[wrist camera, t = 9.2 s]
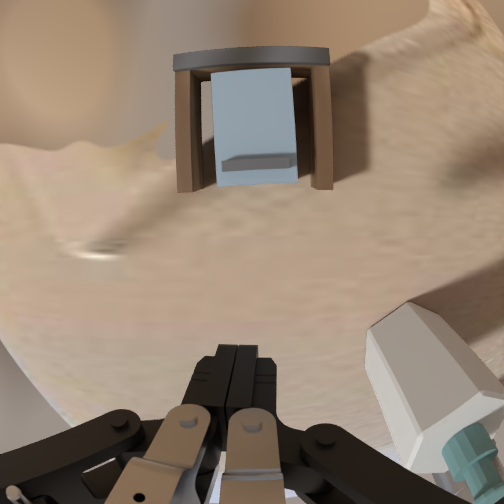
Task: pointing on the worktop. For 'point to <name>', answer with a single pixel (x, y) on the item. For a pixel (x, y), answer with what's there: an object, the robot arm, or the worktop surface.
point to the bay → (245, 58)
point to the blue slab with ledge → (254, 127)
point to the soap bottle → (436, 399)
